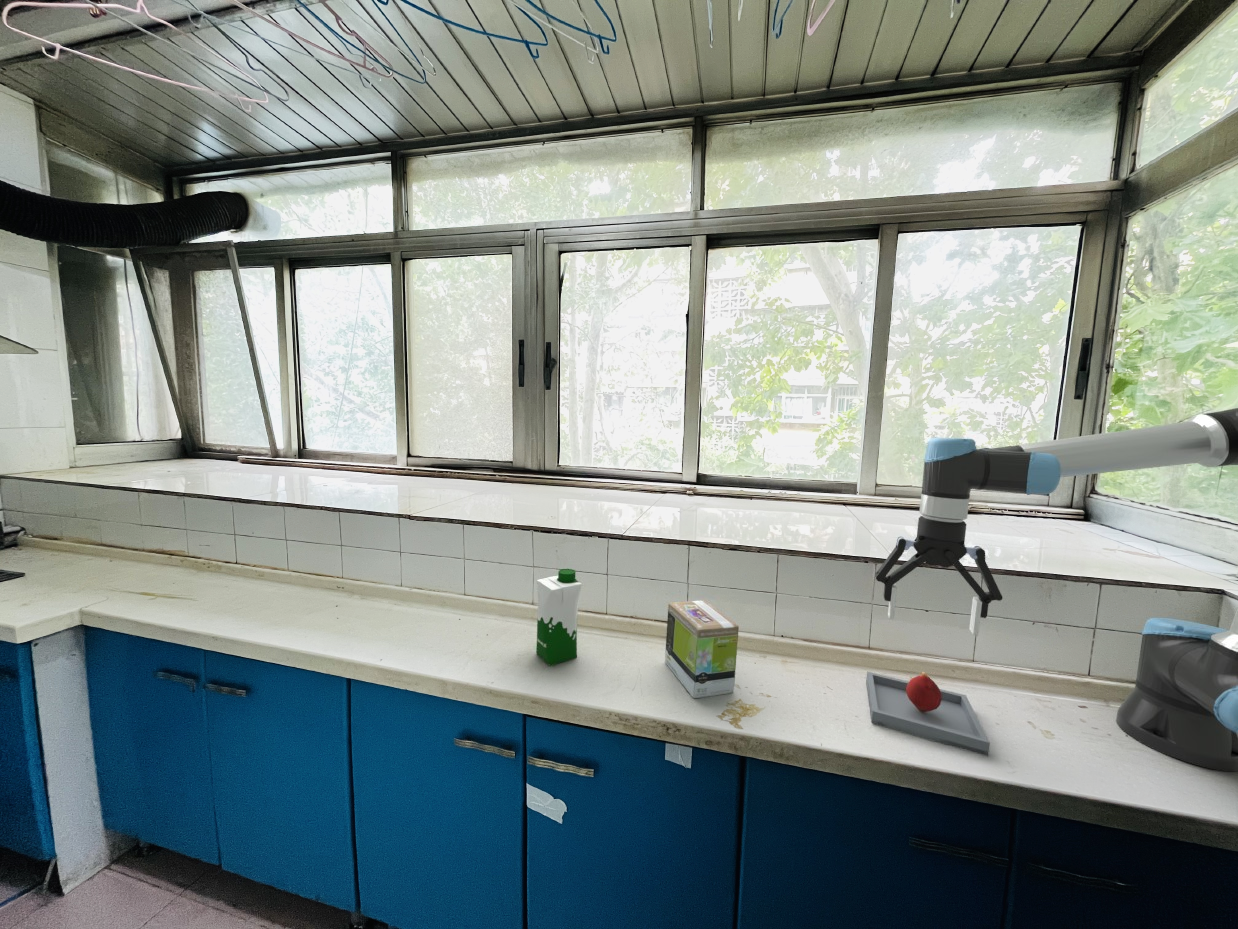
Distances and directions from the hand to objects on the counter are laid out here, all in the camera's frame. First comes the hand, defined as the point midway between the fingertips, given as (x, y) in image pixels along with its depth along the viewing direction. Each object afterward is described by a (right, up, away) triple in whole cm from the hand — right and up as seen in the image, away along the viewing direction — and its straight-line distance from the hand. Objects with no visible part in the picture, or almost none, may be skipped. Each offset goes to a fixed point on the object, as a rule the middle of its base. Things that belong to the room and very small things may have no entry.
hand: (930, 624), depth 89 cm
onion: (-1, -18, +2) cm, 18 cm away
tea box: (-44, -16, +12) cm, 48 cm away
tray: (-1, -19, +2) cm, 19 cm away
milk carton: (-76, -14, +18) cm, 79 cm away
